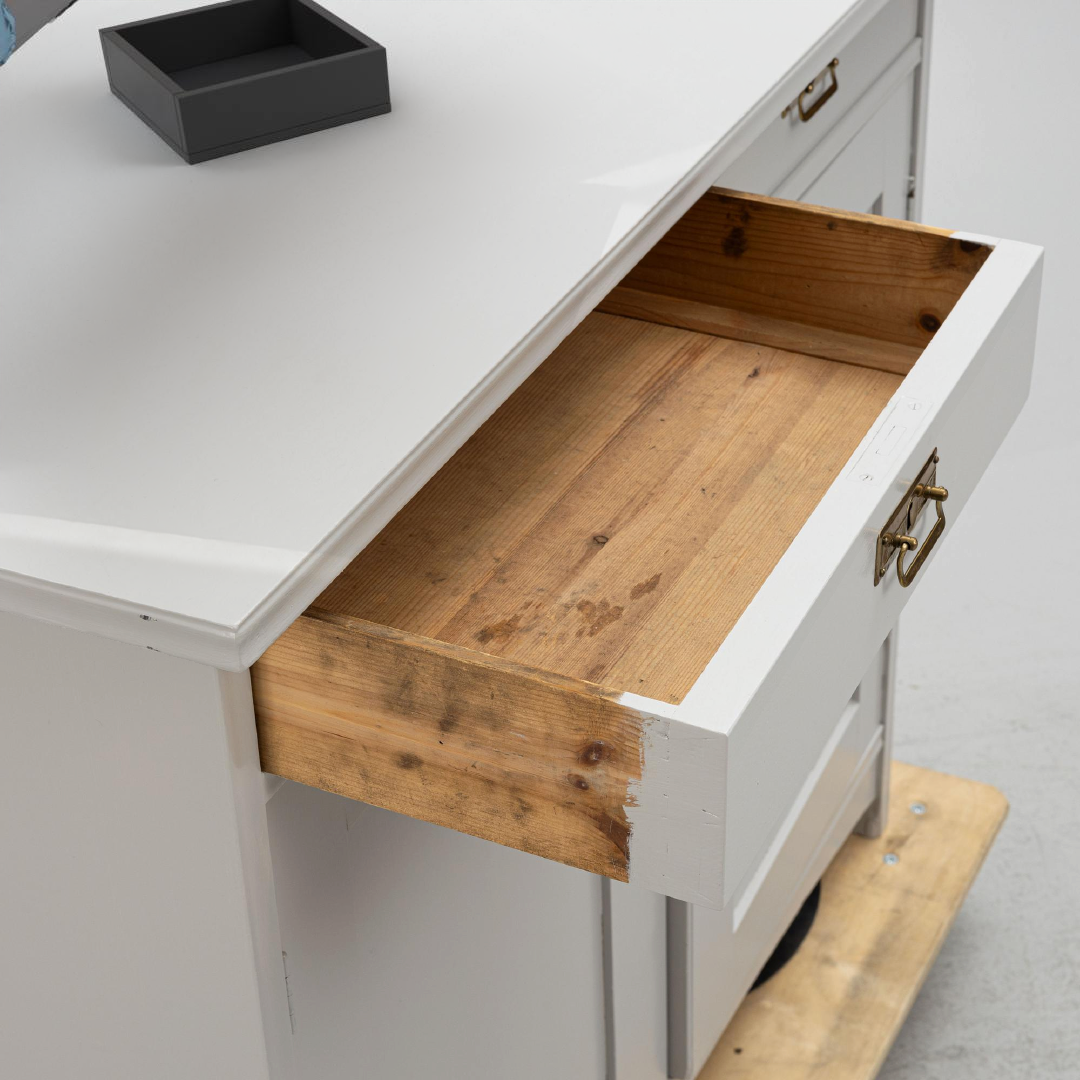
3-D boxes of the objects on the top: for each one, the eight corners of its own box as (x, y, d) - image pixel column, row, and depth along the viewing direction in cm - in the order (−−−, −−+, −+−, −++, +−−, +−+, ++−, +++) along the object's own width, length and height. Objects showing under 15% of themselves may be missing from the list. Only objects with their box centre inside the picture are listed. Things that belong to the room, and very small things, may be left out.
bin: (110, 91, 102) (97, 29, 99) (299, 46, 107) (292, -14, 105) (189, 164, 93) (178, 98, 90) (391, 111, 98) (386, 47, 96)
